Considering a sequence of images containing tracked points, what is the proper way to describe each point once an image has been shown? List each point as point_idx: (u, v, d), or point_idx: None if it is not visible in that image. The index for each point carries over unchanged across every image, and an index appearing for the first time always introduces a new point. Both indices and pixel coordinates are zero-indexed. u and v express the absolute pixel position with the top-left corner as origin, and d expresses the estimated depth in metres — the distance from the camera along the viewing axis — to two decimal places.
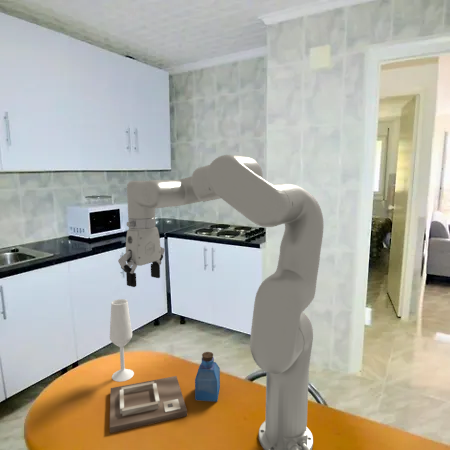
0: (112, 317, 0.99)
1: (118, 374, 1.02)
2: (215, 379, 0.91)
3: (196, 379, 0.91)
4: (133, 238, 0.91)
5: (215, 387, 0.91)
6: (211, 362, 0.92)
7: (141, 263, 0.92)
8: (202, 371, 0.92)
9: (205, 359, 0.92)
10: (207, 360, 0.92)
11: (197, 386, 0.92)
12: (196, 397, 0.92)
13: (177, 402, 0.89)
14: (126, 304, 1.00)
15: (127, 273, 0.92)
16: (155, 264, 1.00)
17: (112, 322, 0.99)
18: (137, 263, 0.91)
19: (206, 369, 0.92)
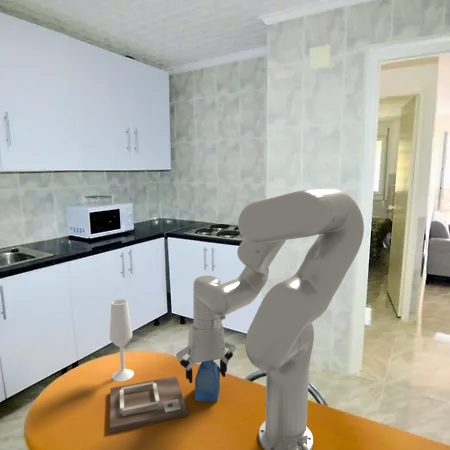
0: (112, 317, 0.99)
1: (118, 374, 1.02)
2: (215, 379, 0.91)
3: (196, 379, 0.91)
4: None
5: (215, 387, 0.91)
6: (211, 362, 0.92)
7: None
8: (202, 371, 0.92)
9: None
10: None
11: (197, 386, 0.92)
12: (196, 397, 0.92)
13: (177, 402, 0.89)
14: (126, 304, 1.00)
15: None
16: None
17: (112, 322, 0.99)
18: None
19: (206, 369, 0.92)
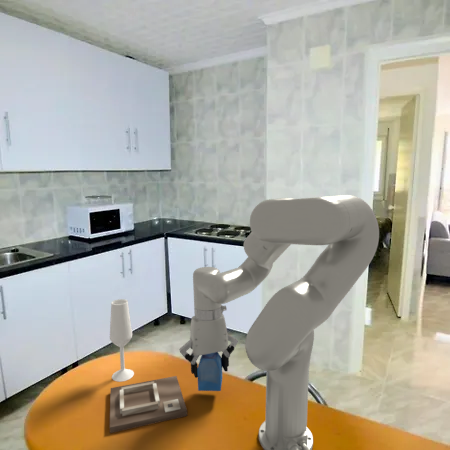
0: (112, 317, 0.99)
1: (118, 374, 1.02)
2: (218, 368, 0.90)
3: (198, 369, 0.90)
4: None
5: (218, 376, 0.90)
6: None
7: None
8: (204, 360, 0.91)
9: None
10: None
11: (200, 376, 0.90)
12: (199, 387, 0.91)
13: (177, 402, 0.89)
14: (126, 304, 1.00)
15: None
16: None
17: (112, 322, 0.99)
18: None
19: (208, 358, 0.91)
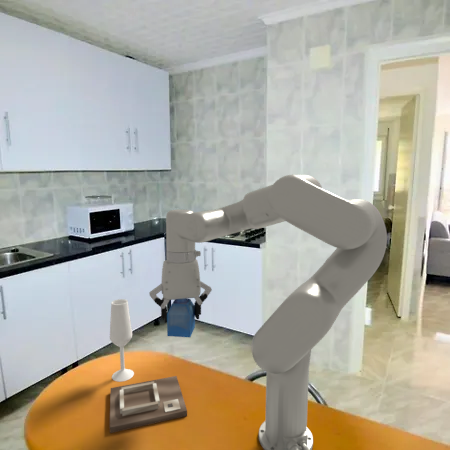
0: (112, 317, 0.99)
1: (118, 374, 1.02)
2: (188, 313, 0.87)
3: (168, 313, 0.87)
4: None
5: (188, 322, 0.87)
6: None
7: None
8: (175, 305, 0.87)
9: None
10: None
11: (170, 321, 0.87)
12: (168, 333, 0.88)
13: (177, 402, 0.89)
14: (126, 304, 1.00)
15: None
16: (165, 305, 0.89)
17: (112, 322, 0.99)
18: None
19: (179, 303, 0.88)
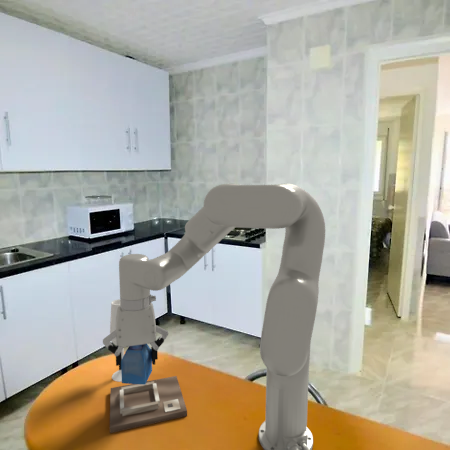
0: (112, 317, 0.99)
1: (118, 374, 1.02)
2: (142, 360, 0.85)
3: (122, 360, 0.85)
4: None
5: (142, 369, 0.85)
6: None
7: None
8: (129, 352, 0.86)
9: None
10: None
11: (124, 368, 0.85)
12: (123, 380, 0.86)
13: (177, 402, 0.89)
14: None
15: None
16: None
17: (112, 322, 0.99)
18: None
19: (134, 350, 0.86)
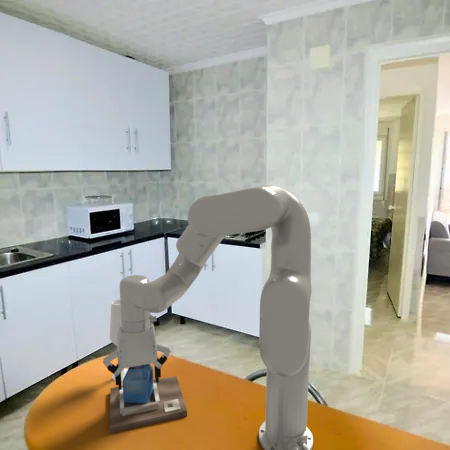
0: (112, 317, 0.99)
1: None
2: (144, 379, 0.86)
3: (124, 380, 0.86)
4: None
5: (144, 388, 0.86)
6: None
7: None
8: (131, 371, 0.86)
9: None
10: None
11: (125, 388, 0.86)
12: (124, 399, 0.87)
13: (177, 402, 0.89)
14: None
15: None
16: None
17: (112, 322, 0.99)
18: None
19: (135, 369, 0.87)
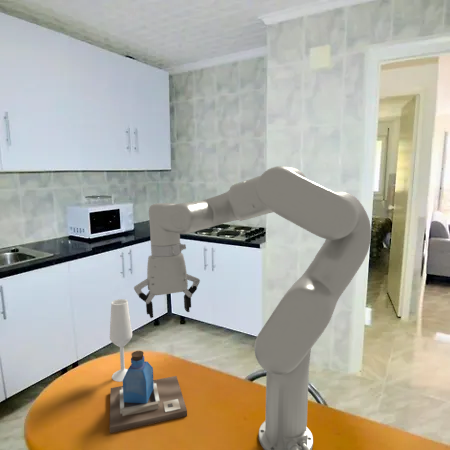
0: (112, 317, 0.99)
1: (118, 374, 1.02)
2: (144, 379, 0.86)
3: (124, 380, 0.86)
4: None
5: (144, 388, 0.86)
6: (140, 361, 0.87)
7: None
8: (131, 371, 0.86)
9: (134, 358, 0.87)
10: (135, 360, 0.87)
11: (125, 388, 0.86)
12: (124, 399, 0.87)
13: (177, 402, 0.89)
14: (126, 304, 1.00)
15: None
16: (150, 300, 0.87)
17: (112, 322, 0.99)
18: None
19: (135, 369, 0.87)
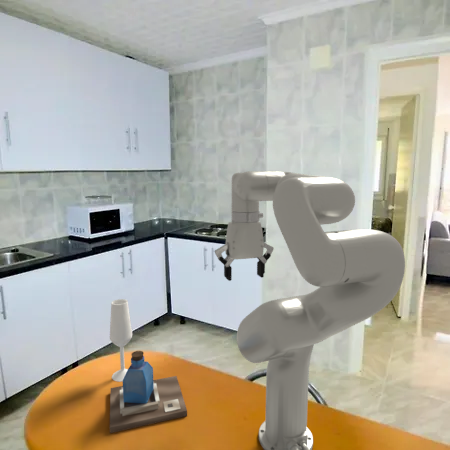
0: (112, 317, 0.99)
1: (118, 374, 1.02)
2: (144, 379, 0.86)
3: (124, 380, 0.86)
4: None
5: (144, 388, 0.86)
6: (140, 361, 0.87)
7: None
8: (131, 371, 0.86)
9: (134, 358, 0.87)
10: (135, 360, 0.87)
11: (125, 388, 0.86)
12: (124, 399, 0.87)
13: (177, 402, 0.89)
14: (126, 304, 1.00)
15: None
16: None
17: (112, 322, 0.99)
18: None
19: (135, 369, 0.87)
